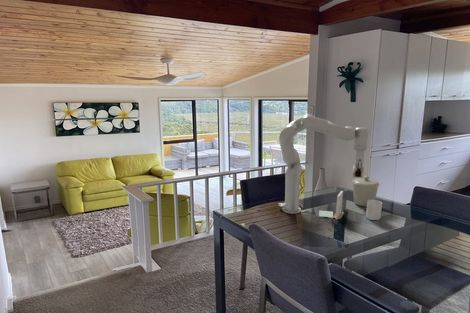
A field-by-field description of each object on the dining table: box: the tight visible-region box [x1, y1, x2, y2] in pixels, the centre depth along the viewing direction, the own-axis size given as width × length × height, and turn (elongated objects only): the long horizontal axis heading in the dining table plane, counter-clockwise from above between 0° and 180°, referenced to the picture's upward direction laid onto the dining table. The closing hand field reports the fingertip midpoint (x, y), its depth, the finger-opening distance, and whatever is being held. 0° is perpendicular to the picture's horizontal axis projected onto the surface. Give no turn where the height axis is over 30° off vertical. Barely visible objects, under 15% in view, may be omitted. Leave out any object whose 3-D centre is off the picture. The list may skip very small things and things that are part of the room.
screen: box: [332, 190, 345, 220], centre depth 219 cm, size 4×11×16 cm, turn 150°
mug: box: [365, 199, 383, 221], centre depth 218 cm, size 12×9×11 cm
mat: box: [318, 209, 334, 219], centre depth 223 cm, size 9×9×1 cm
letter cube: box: [351, 164, 365, 178], centre depth 211 cm, size 6×6×6 cm
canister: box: [351, 175, 380, 208], centre depth 238 cm, size 18×18×21 cm
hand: (357, 174), depth 212 cm, fingers closed on letter cube, 6 cm apart
